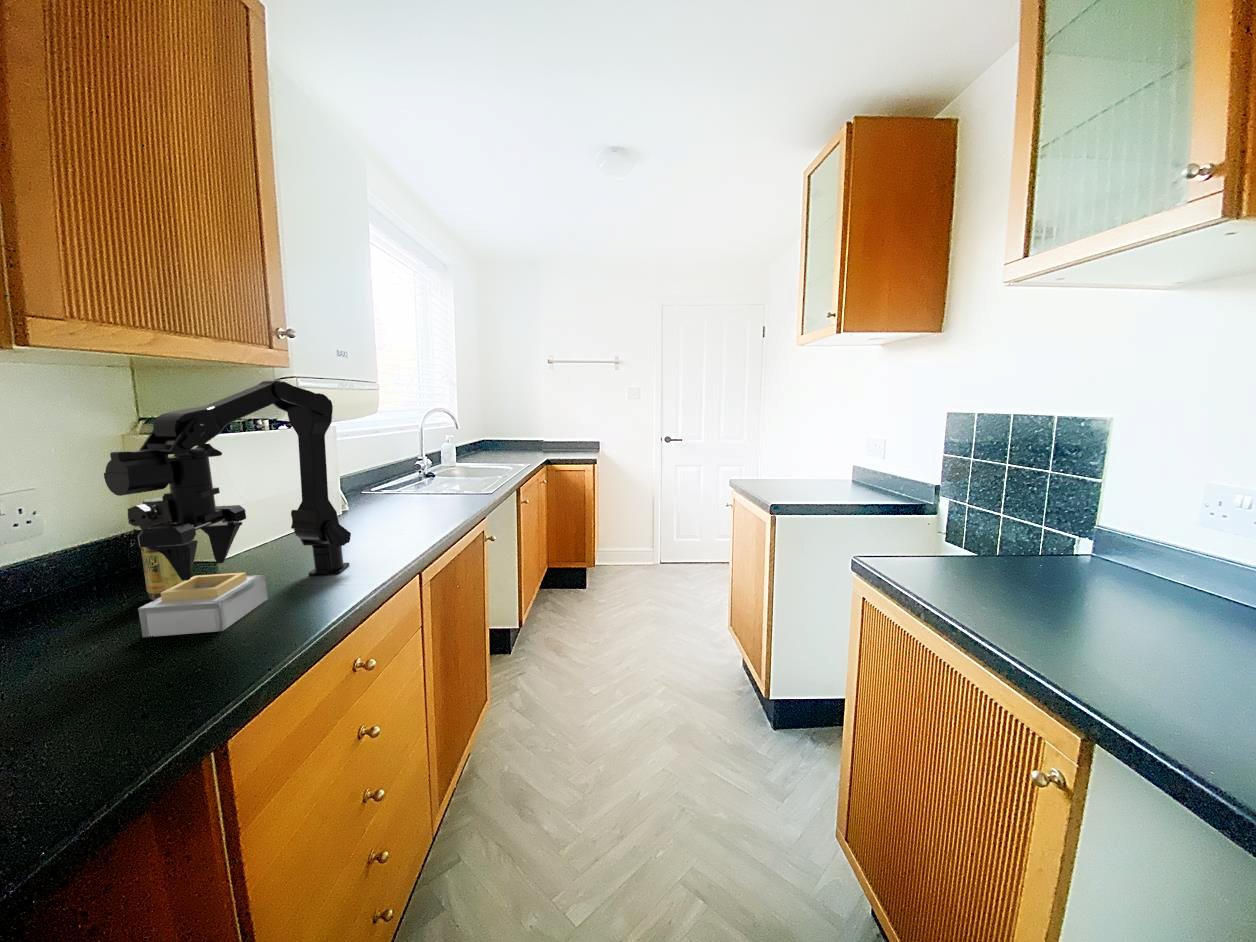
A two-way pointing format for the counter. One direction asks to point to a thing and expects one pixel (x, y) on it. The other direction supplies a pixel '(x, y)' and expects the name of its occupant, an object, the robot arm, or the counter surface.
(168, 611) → the square frame box
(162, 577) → the sauce bottle
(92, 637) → the counter surface
